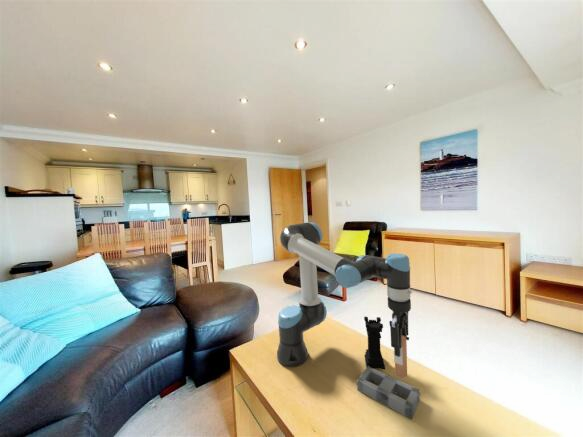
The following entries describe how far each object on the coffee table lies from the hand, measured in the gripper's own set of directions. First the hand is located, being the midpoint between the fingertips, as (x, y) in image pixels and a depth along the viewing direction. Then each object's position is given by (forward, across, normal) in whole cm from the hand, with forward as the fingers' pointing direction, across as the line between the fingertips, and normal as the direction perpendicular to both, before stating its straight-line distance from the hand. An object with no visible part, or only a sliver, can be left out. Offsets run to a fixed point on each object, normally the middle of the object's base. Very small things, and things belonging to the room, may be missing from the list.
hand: (400, 359), depth 85 cm
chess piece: (+17, +14, +16) cm, 27 cm away
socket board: (+17, 0, +5) cm, 17 cm away
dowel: (+5, 0, 0) cm, 5 cm away
